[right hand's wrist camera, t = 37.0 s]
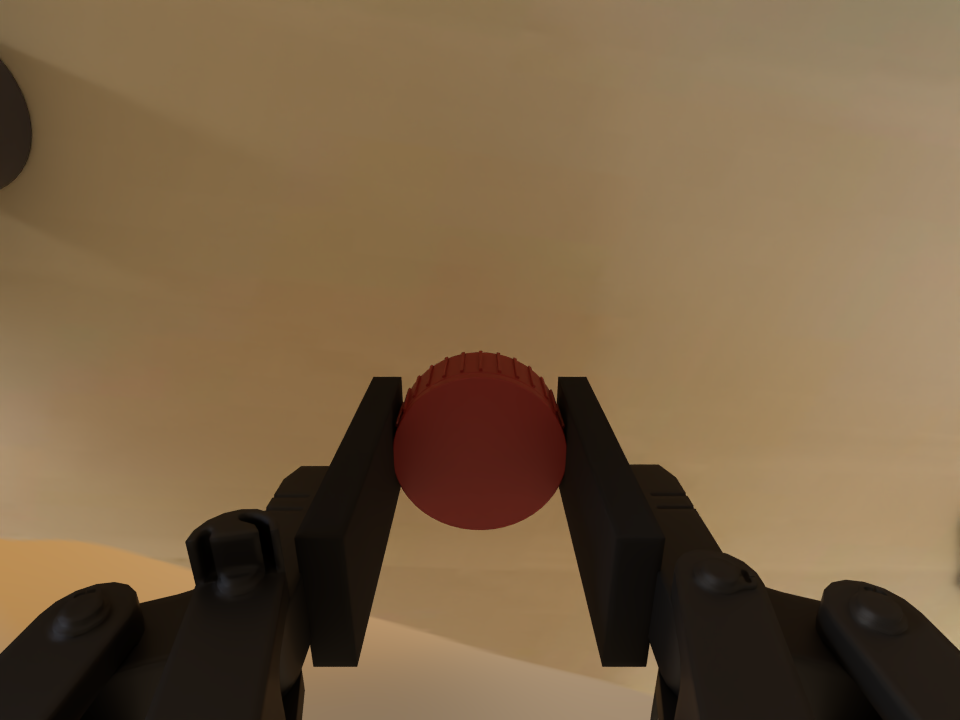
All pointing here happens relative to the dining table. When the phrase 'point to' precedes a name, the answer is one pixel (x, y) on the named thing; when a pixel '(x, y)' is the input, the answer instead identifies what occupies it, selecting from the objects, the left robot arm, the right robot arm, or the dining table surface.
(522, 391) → the cap
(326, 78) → the dining table surface
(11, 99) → the bottle
